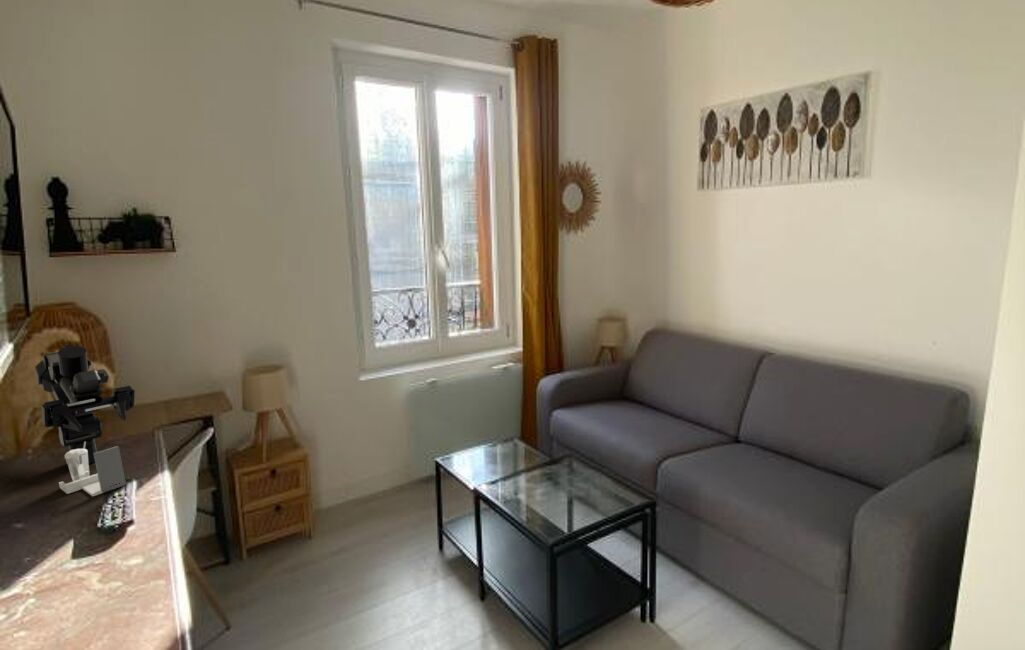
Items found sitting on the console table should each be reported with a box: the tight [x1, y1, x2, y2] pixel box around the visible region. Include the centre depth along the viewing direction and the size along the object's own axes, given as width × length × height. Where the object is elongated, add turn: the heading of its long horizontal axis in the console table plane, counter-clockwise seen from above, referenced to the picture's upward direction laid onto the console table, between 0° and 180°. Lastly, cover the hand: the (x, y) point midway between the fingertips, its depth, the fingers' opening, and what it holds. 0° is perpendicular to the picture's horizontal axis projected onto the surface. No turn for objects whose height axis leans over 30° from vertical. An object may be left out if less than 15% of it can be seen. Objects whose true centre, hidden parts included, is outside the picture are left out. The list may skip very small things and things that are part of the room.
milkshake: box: [64, 442, 91, 482], centre depth 139 cm, size 4×5×10 cm
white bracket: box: [58, 445, 127, 497], centre depth 136 cm, size 13×10×10 cm
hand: (103, 424), depth 135 cm, fingers open, 9 cm apart
